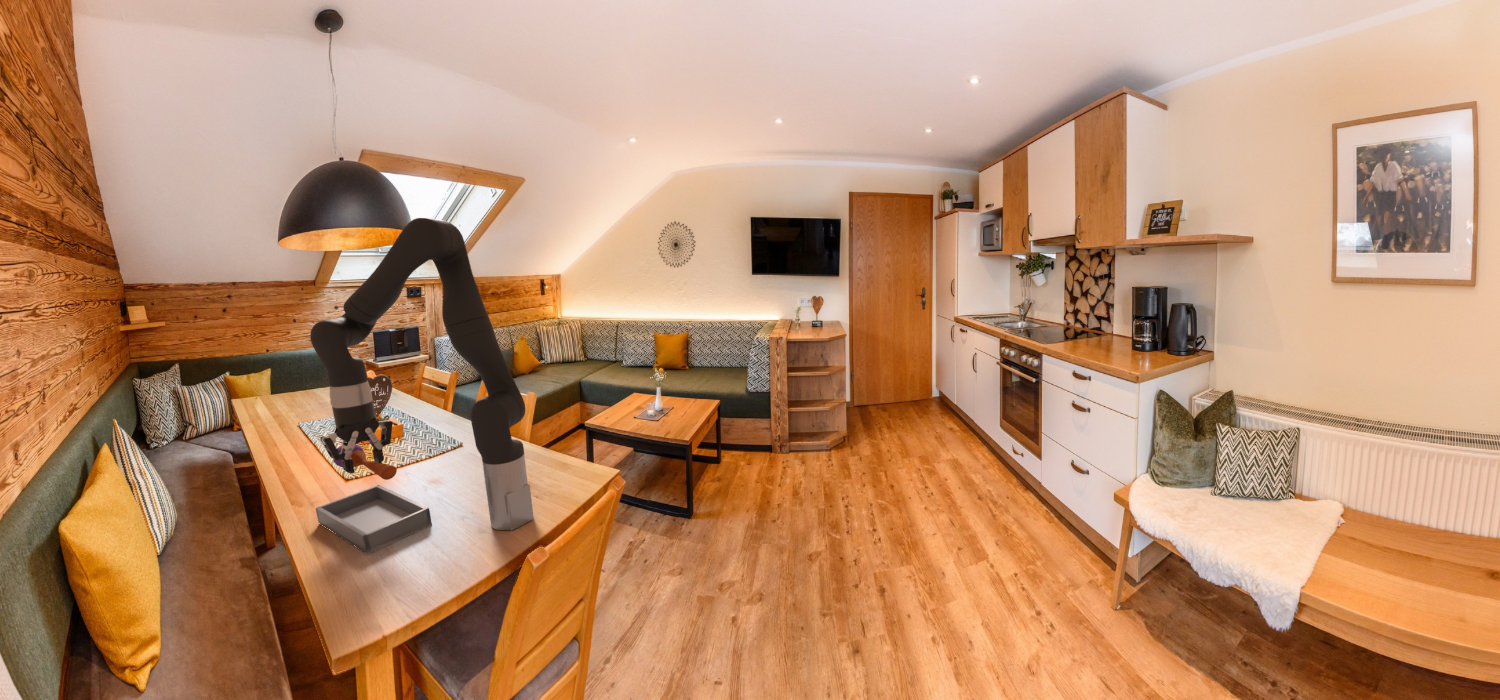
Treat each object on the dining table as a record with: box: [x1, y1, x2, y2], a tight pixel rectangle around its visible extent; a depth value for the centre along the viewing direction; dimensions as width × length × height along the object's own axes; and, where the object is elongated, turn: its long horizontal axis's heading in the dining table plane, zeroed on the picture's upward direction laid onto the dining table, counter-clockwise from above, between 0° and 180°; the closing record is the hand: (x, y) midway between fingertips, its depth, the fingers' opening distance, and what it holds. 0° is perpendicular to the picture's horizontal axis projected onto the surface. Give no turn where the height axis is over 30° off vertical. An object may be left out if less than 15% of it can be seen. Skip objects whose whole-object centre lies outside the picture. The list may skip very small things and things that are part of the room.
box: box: [315, 484, 432, 555], centre depth 118 cm, size 26×14×4 cm, turn 61°
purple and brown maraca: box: [332, 444, 398, 481], centre depth 115 cm, size 6×6×20 cm
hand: (365, 467), depth 115 cm, fingers closed on purple and brown maraca, 5 cm apart
